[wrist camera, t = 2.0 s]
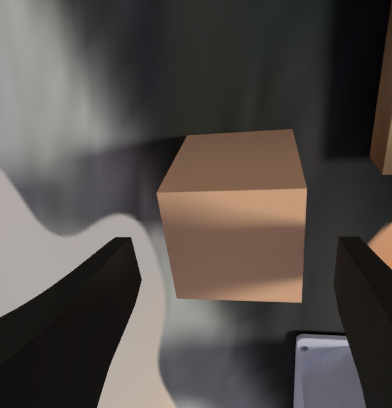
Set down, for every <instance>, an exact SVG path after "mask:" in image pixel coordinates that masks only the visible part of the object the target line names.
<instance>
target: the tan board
mask: <svg viewBox="0 0 392 408" xmlns="http://www.w3.org/2000/svg"><path fill="white" fill-rule="evenodd" d="M370 158H371V159H372V160H373V162H374V163H375V165H376V166H377V168H378V169H379V171H380V172H381V173H382V175H388V174H392V0H391V6H390V13H389V20H388V27H387V35H386V42H385V49H384V56H383V63H382V71H381V78H380V85H379V92H378V99H377V107H376V114H375V121H374V128H373V135H372V143H371V150H370Z"/></svg>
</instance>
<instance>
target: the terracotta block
mask: <svg viewBox="0 0 392 408" xmlns="http://www.w3.org/2000/svg"><path fill="white" fill-rule="evenodd" d="M306 195H307V188H306V183H305V179H304V175H303V171H302V167H301V163H300V159H299V155H298V151H297V146H296V142H295V138H294V134H293V130H292V129H287V130H270V131H253V132H236V133H219V134H203V135H187V137H186V139H185V141H184V142H183V144H182V146H181V148H180V150H179V152H178V154H177V155H176V157H175V159H174V161H173V163H172V165H171V167H170V169H169V170H168V172H167V174H166V176H165V178H164V180H163V182H162V184H161V185H160V187H159V189H158V191H157V198H158V203H159V208H160V213H161V219H162V224H163V229H164V234H165V239H166V245H167V250H168V255H169V260H170V265H171V271H172V276H173V281H174V286H175V291H176V297H177V298H181V299H211V300H241V301H271V302H302V280H303V259H304V237H305V216H306Z"/></svg>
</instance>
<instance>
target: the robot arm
mask: <svg viewBox="0 0 392 408" xmlns="http://www.w3.org/2000/svg"><path fill="white" fill-rule="evenodd" d="M141 280H142V279H141V275H140V271H139V267H138V263H137V260H136V256H135V252H134V247H133V244H132V240H131V237H115V238H114V239H112V240H111V241H110V242H108V243H107V244H106V245H104V246H103V247H102V248H101V249H99V250H98V251H97V252H96V253H95V254H93V255H92V256H91V257H90V258H88V259H87V260H86V261H85V262H83V263H82V264H81V265H80V266H78V267H77V268H76V269H74V270H73V271H72V272H71V273H69V274H68V275H66V276H65V277H64V278H62V279H61V280H60V281H58V282H57V283H56V284H54V285H53V286H52V287H50V288H49V289H47V290H46V291H44V292H43V293H41V294H40V295H38V296H37V297H35V298H33V299H32V300H30V301H28V302H27V303H25V304H24V305H22V306H20V307H19V308H17V309H15V310H13V311H11V312H9V313H7V314H6V315H4V316H2V317H0V408H97V406H98V402H99V399H100V395H101V392H102V389H103V385H104V382H105V379H106V376H107V372H108V369H109V367H110V364H111V361H112V359H113V356H114V354H115V352H116V349H117V347H118V344H119V342H120V340H121V337H122V335H123V333H124V330H125V328H126V325H127V323H128V320H129V318H130V315H131V313H132V311H133V308H134V306H135V303H136V299H137V296H138V292H139V288H140V284H141ZM334 289H335V295H336V300H337V306H338V311H339V315H340V318H341V321H342V325H343V328H344V331H345V334H346V336H336V335H316V334H301V335H298V336H297V338H296V353H295V379H294V405H293V408H392V269H391V268H390V267H389V266H387V265H386V264H385V263H384V262H383V261H382V260H381V259H380V258H379V257H378V256H377V255H376V254H375V253H374V252H373V251H372V250H371V248H370V247H369V246H368V245H367V244H366V243H365V242H364V241H363V240H362V239H361V238H360V237H339V239H338V248H337V258H336V267H335V276H334ZM303 346H304V347H303Z"/></svg>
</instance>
